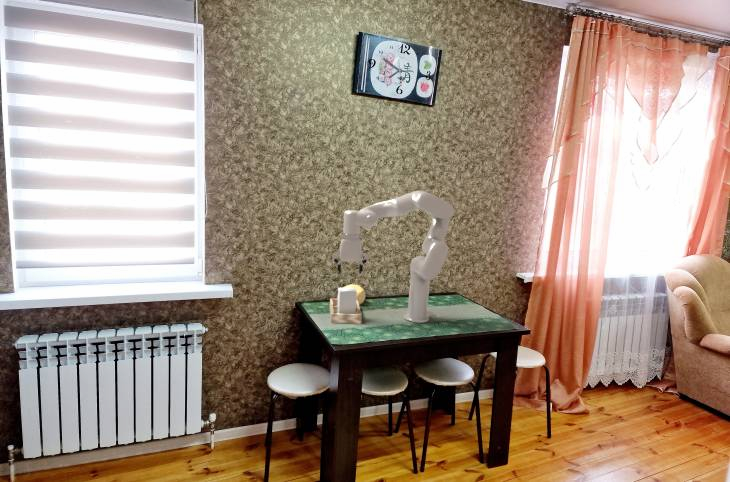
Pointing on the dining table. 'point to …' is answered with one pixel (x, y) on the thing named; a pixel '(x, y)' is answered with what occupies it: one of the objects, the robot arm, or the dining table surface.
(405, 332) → the dining table surface
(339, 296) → the skincare box
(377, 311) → the dining table surface
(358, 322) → the crate
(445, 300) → the dining table surface
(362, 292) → the sculpture
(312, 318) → the dining table surface
